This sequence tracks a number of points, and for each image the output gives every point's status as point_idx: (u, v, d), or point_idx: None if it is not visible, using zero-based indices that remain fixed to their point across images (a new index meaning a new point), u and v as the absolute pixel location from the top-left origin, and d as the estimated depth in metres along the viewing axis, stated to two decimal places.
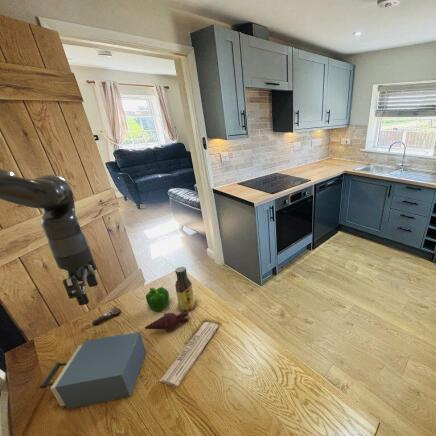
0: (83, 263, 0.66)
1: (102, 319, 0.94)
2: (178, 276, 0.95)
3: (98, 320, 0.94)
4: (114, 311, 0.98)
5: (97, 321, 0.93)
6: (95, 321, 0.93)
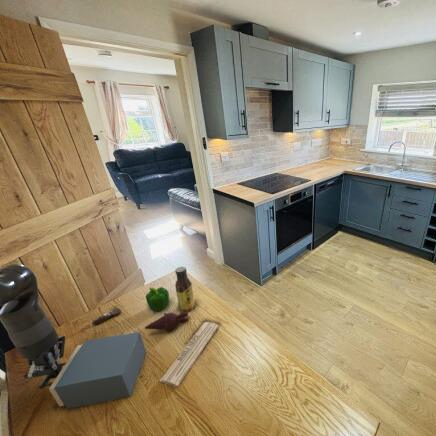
0: (43, 350, 0.63)
1: (102, 319, 0.94)
2: (178, 276, 0.95)
3: (98, 320, 0.94)
4: (114, 311, 0.98)
5: (97, 321, 0.93)
6: (95, 321, 0.93)
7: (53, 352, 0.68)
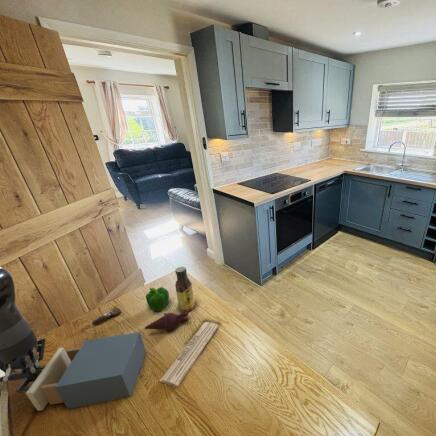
0: (20, 353, 0.62)
1: (102, 319, 0.94)
2: (178, 276, 0.95)
3: (98, 320, 0.94)
4: (114, 311, 0.98)
5: (97, 321, 0.93)
6: (95, 321, 0.93)
7: (31, 355, 0.67)
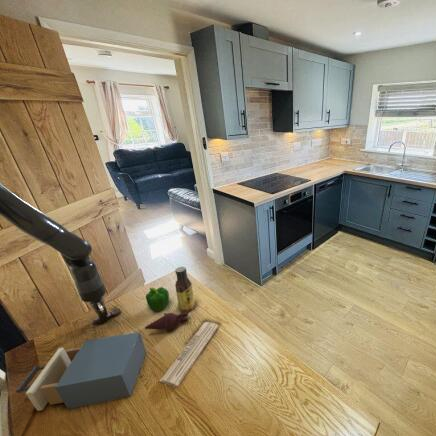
0: (104, 293, 0.91)
1: None
2: (178, 276, 0.95)
3: (98, 320, 0.94)
4: (114, 311, 0.98)
5: (97, 321, 0.93)
6: (95, 321, 0.93)
7: None
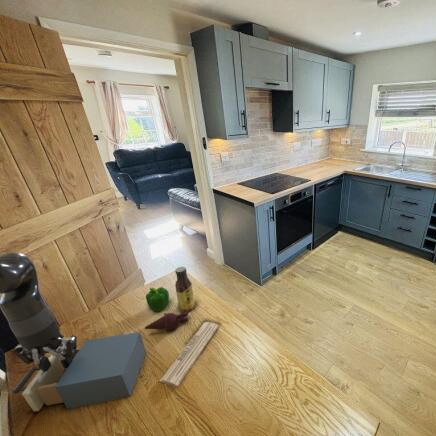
0: (58, 325, 0.67)
1: None
2: (178, 276, 0.95)
3: None
4: None
5: None
6: None
7: None
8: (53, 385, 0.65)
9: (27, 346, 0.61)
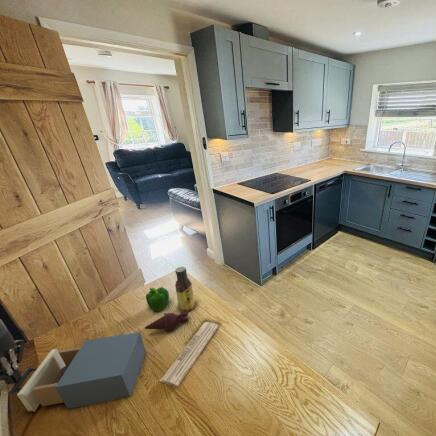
0: None
1: None
2: (178, 276, 0.95)
3: None
4: (64, 370, 0.73)
5: None
6: None
7: None
8: (48, 386, 0.64)
9: (7, 346, 0.62)
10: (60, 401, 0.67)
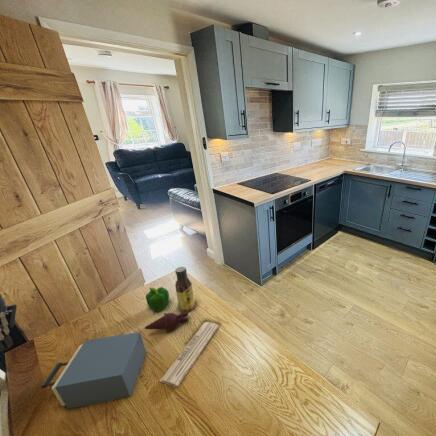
0: None
1: None
2: (178, 276, 0.95)
3: None
4: None
5: None
6: None
7: None
8: None
9: None
10: None
